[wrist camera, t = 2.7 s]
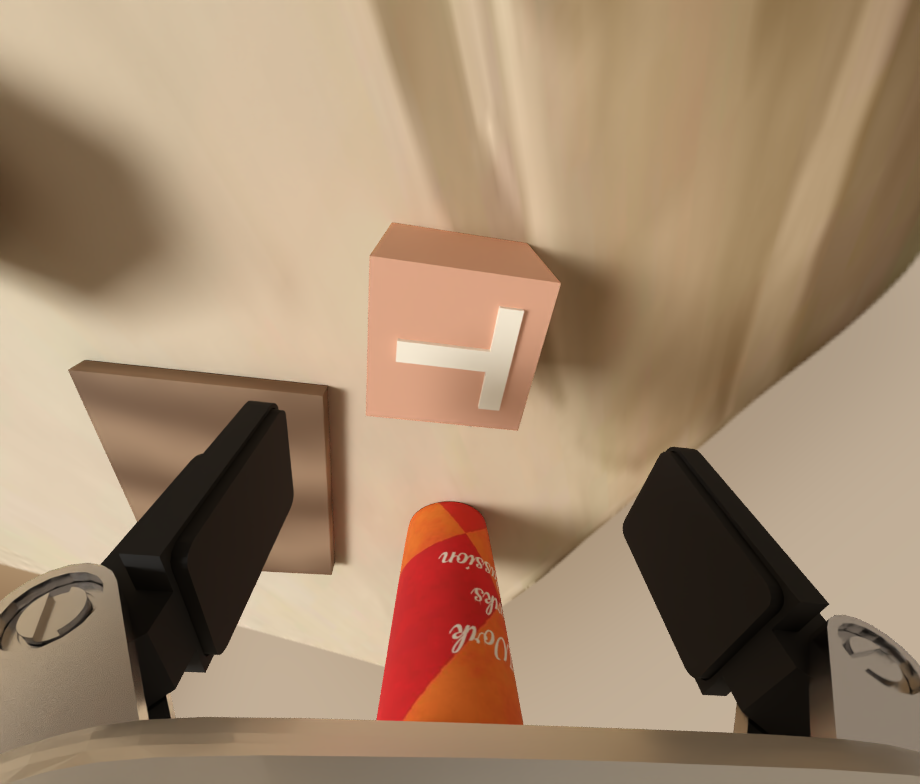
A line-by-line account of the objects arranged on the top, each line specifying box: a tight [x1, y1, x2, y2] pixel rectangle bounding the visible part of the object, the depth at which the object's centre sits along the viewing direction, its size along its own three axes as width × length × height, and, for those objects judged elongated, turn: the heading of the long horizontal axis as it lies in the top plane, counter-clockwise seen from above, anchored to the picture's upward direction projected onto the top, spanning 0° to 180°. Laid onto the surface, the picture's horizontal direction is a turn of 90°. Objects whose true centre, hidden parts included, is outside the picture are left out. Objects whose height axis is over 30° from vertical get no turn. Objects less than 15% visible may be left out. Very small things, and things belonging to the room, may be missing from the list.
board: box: [68, 360, 335, 575], centre depth 24 cm, size 16×12×1 cm
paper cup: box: [377, 502, 523, 725], centre depth 22 cm, size 8×8×14 cm
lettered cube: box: [366, 223, 561, 431], centre depth 16 cm, size 6×6×6 cm
